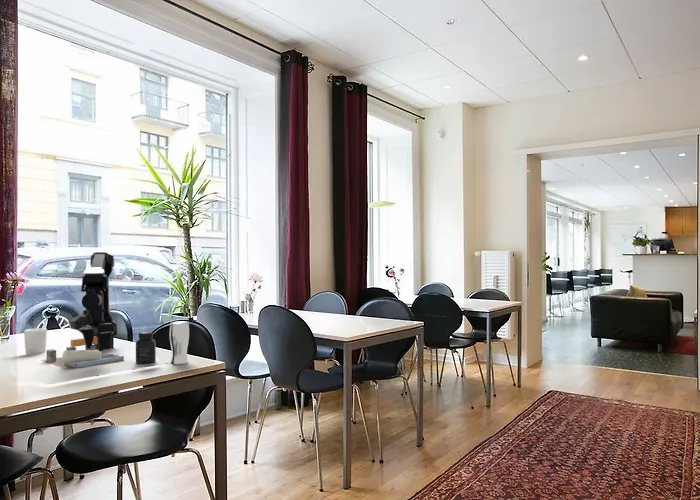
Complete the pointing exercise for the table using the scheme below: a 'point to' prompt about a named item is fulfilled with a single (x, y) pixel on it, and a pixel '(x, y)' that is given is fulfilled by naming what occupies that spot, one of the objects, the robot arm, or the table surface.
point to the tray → (96, 361)
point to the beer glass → (179, 341)
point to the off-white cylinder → (81, 355)
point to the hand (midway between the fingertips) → (94, 349)
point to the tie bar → (81, 342)
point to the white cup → (35, 340)
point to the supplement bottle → (145, 348)
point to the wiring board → (59, 361)
